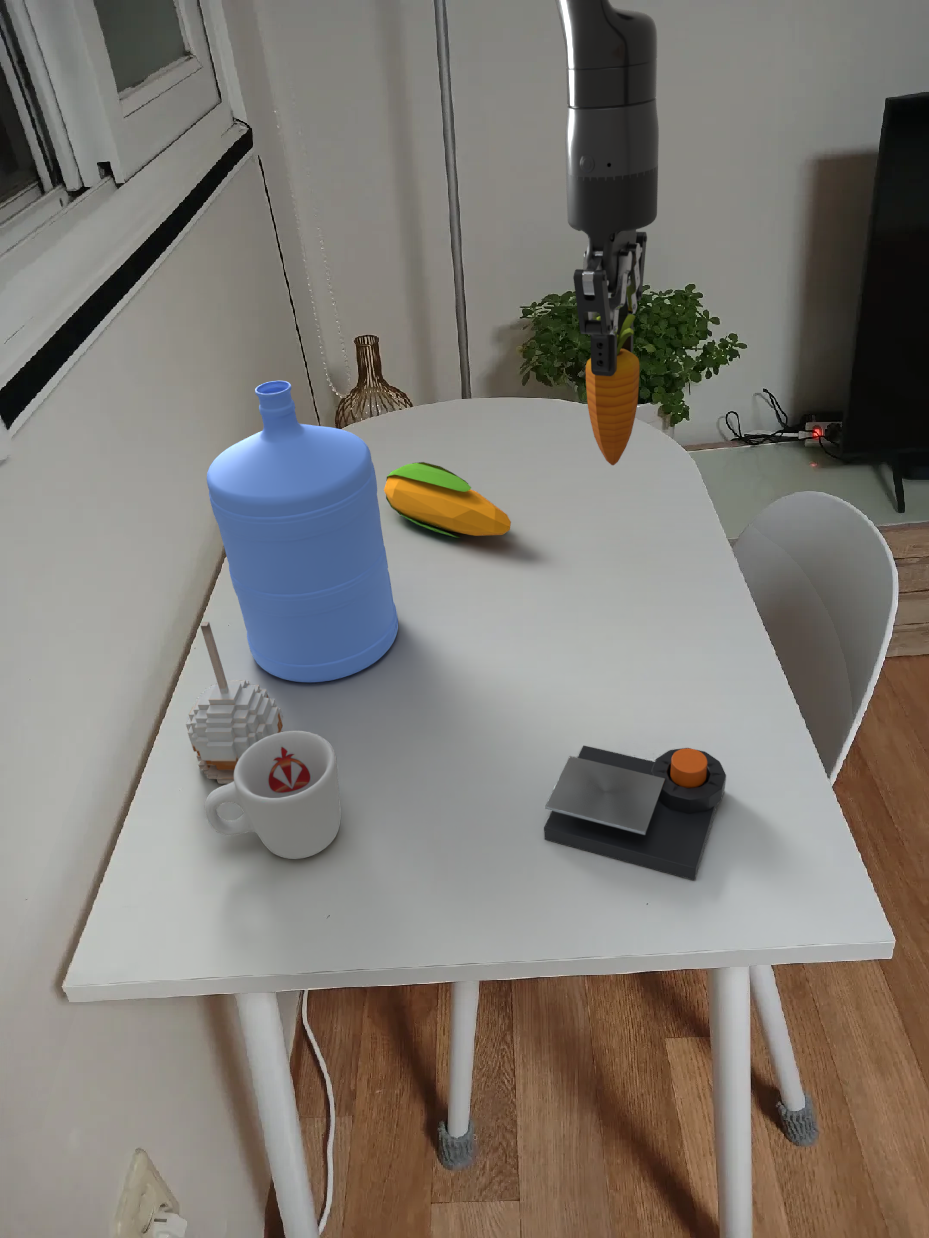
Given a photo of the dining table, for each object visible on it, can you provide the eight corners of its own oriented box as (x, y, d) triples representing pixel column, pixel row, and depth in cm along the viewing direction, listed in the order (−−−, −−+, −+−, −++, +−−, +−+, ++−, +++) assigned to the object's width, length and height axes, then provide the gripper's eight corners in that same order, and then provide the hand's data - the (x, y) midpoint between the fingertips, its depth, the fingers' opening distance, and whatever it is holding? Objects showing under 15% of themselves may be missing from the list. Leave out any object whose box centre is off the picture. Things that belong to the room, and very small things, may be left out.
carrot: (635, 452, 96) (637, 302, 87) (641, 474, 92) (643, 319, 83) (585, 455, 96) (582, 306, 88) (589, 477, 92) (586, 324, 84)
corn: (406, 441, 121) (529, 480, 110) (415, 492, 126) (535, 535, 114) (364, 467, 117) (488, 511, 106) (376, 519, 122) (495, 567, 110)
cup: (223, 893, 74) (197, 822, 70) (217, 820, 81) (194, 751, 76) (358, 857, 76) (342, 786, 71) (342, 788, 82) (327, 719, 78)
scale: (728, 783, 79) (731, 757, 77) (699, 882, 71) (702, 855, 70) (586, 750, 84) (586, 724, 82) (544, 839, 76) (542, 813, 74)
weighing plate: (665, 780, 76) (665, 778, 76) (645, 835, 72) (645, 832, 71) (569, 758, 79) (569, 755, 79) (545, 808, 75) (544, 806, 74)
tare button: (709, 768, 77) (710, 752, 76) (701, 792, 75) (703, 776, 74) (675, 760, 78) (676, 744, 77) (666, 783, 76) (667, 767, 75)
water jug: (368, 695, 92) (319, 428, 76) (225, 677, 97) (149, 420, 80) (419, 604, 104) (385, 357, 88) (289, 592, 109) (234, 353, 92)
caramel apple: (295, 728, 89) (262, 596, 81) (274, 788, 83) (237, 652, 74) (216, 728, 90) (175, 597, 82) (189, 787, 84) (142, 653, 75)
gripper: (631, 182, 72) (630, 397, 82) (678, 145, 82) (672, 340, 92) (538, 183, 75) (547, 390, 84) (595, 148, 85) (597, 336, 95)
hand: (612, 363), depth 88 cm, fingers closed on carrot, 4 cm apart
